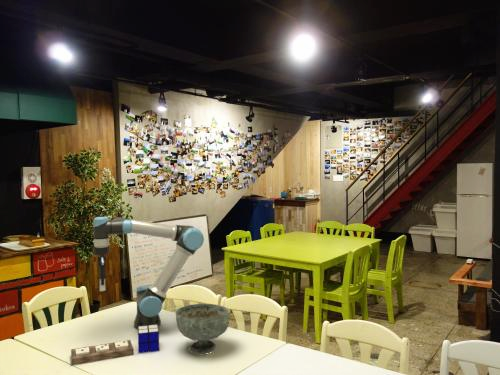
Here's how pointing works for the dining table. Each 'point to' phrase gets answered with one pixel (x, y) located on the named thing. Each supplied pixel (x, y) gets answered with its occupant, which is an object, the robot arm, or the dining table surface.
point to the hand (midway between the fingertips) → (102, 290)
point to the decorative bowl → (202, 325)
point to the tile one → (82, 351)
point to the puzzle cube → (148, 338)
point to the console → (101, 354)
